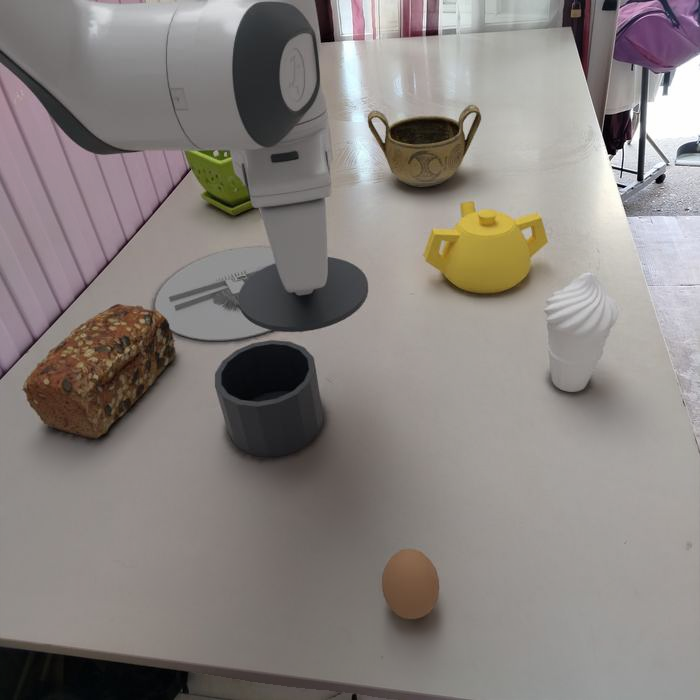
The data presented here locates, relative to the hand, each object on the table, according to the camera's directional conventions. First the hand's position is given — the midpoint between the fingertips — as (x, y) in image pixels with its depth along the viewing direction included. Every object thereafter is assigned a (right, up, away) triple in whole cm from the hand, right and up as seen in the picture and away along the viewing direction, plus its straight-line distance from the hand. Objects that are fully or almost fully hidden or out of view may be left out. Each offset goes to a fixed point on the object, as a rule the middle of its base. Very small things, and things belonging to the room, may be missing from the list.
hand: (301, 281), depth 64 cm
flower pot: (-18, +24, +70) cm, 77 cm away
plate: (-14, +3, +43) cm, 45 cm away
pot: (-5, -16, +17) cm, 24 cm away
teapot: (+26, +7, +42) cm, 50 cm away
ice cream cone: (+33, -11, +18) cm, 40 cm away
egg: (+11, -31, -4) cm, 33 cm away
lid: (0, -1, +1) cm, 2 cm away
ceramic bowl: (+21, +29, +71) cm, 79 cm away
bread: (-28, -13, +25) cm, 40 cm away
